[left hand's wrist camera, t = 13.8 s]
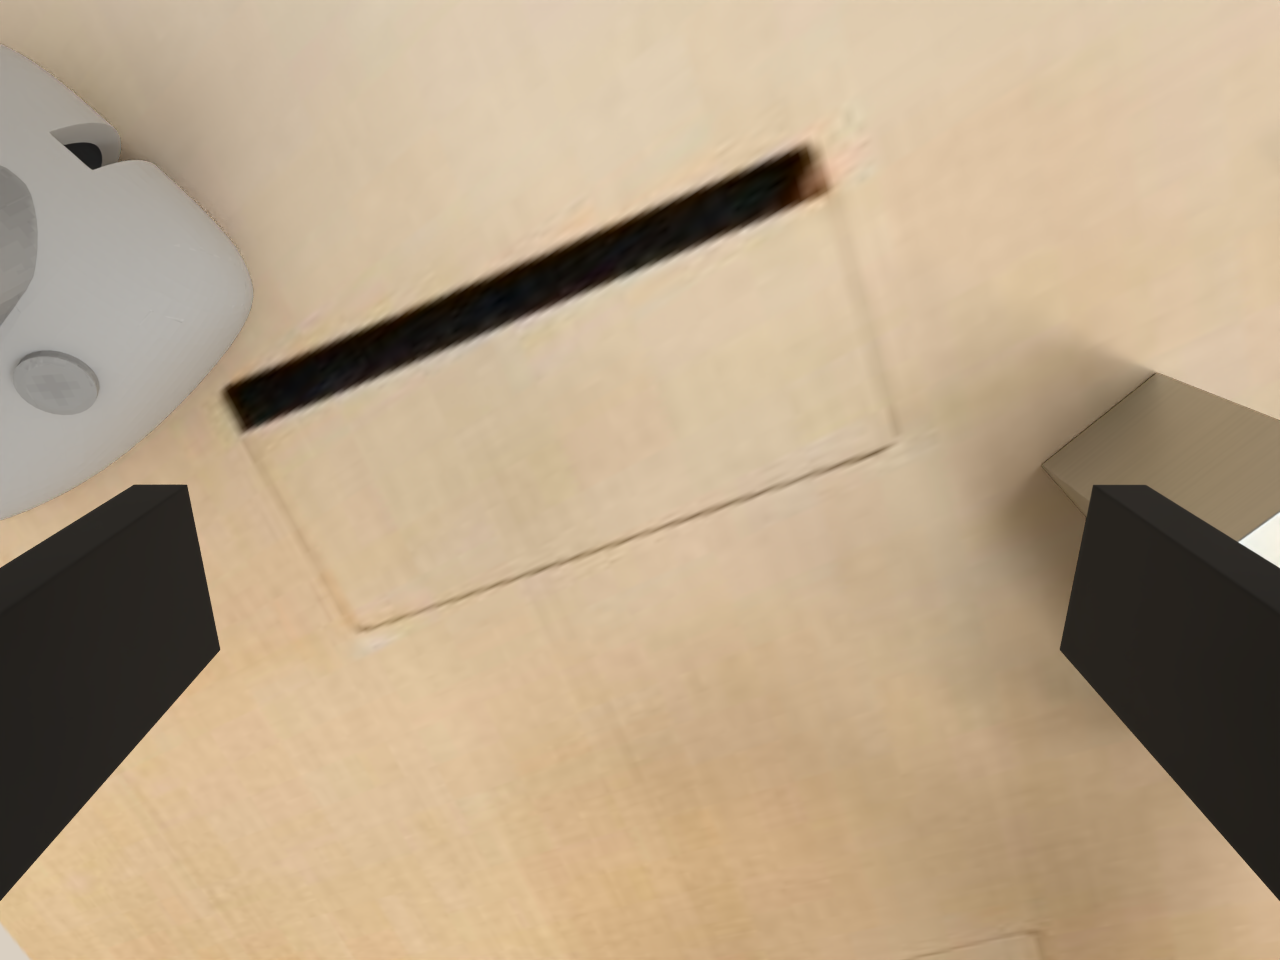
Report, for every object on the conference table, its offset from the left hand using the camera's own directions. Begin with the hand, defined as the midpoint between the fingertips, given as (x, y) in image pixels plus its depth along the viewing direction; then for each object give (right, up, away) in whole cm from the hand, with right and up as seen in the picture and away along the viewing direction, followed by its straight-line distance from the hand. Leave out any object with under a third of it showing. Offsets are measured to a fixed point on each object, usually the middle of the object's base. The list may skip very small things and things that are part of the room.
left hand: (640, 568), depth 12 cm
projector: (-30, +9, +30) cm, 43 cm away
